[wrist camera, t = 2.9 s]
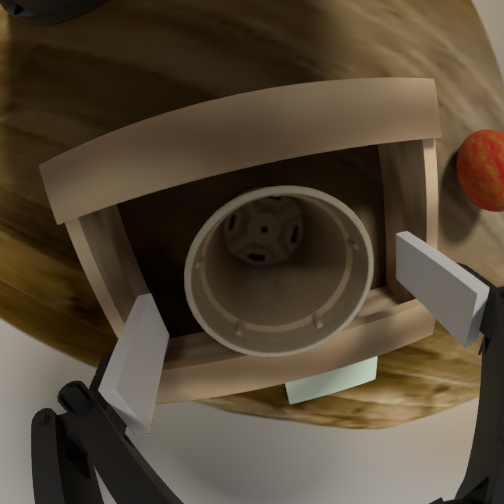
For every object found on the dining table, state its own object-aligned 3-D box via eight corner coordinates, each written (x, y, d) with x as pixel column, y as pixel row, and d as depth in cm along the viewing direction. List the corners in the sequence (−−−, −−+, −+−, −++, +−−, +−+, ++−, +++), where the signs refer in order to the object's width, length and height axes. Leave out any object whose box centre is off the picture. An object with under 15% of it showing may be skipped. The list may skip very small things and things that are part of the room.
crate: (88, 152, 18) (38, 165, 12) (379, 87, 18) (433, 78, 12) (164, 347, 26) (153, 404, 19) (394, 291, 26) (432, 334, 19)
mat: (273, 334, 26) (274, 340, 25) (376, 305, 26) (380, 310, 25) (288, 399, 30) (289, 404, 29) (372, 374, 30) (375, 378, 29)
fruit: (493, 143, 20) (552, 159, 13) (476, 207, 23) (533, 235, 16) (450, 113, 19) (518, 120, 12) (433, 186, 22) (497, 214, 14)
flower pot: (215, 294, 24) (214, 372, 16) (183, 180, 20) (157, 213, 12) (328, 269, 24) (372, 334, 16) (314, 153, 20) (369, 170, 12)
